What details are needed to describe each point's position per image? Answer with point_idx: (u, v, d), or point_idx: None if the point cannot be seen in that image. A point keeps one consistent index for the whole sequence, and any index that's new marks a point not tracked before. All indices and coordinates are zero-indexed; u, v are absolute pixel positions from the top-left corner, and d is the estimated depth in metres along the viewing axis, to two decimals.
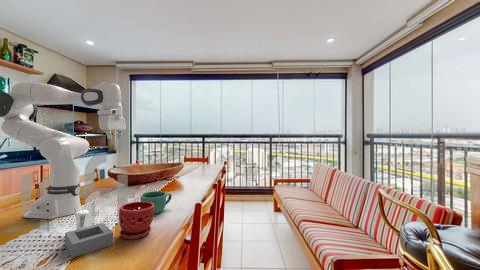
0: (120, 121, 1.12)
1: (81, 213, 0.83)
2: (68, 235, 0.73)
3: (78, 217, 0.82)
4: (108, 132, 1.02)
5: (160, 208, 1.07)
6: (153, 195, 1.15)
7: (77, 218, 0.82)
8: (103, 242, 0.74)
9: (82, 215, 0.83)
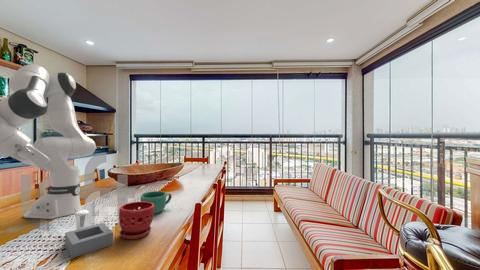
0: (24, 157, 0.68)
1: (81, 213, 0.83)
2: (68, 235, 0.73)
3: (78, 217, 0.82)
4: None
5: (160, 208, 1.07)
6: (153, 195, 1.15)
7: (77, 218, 0.82)
8: (103, 242, 0.74)
9: (82, 215, 0.83)
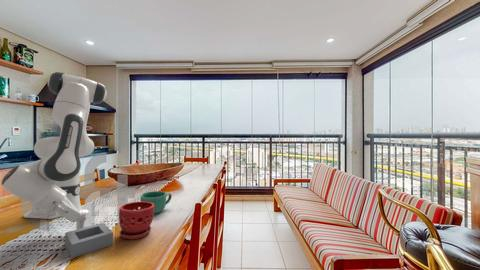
0: None
1: (81, 213, 0.83)
2: (68, 235, 0.73)
3: None
4: None
5: (160, 208, 1.07)
6: (153, 195, 1.15)
7: None
8: (103, 242, 0.74)
9: None
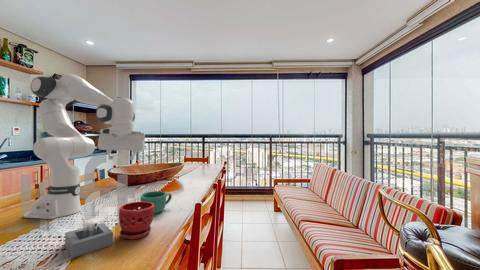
0: (130, 140, 0.97)
1: (90, 223, 0.74)
2: (68, 235, 0.73)
3: (87, 227, 0.74)
4: None
5: (160, 208, 1.07)
6: (153, 195, 1.15)
7: (85, 228, 0.74)
8: (103, 242, 0.74)
9: (91, 225, 0.74)
